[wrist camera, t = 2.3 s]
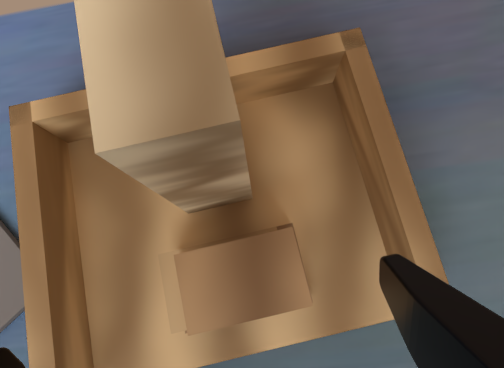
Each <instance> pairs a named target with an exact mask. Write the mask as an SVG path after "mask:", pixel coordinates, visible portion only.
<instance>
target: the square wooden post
mask: <svg viewBox="0 0 504 368" xmlns="http://www.w3.org/2000/svg"><path fill="white" fill-rule="evenodd" d="M74 4H75V11H76V18H77V26H78V33H79V41H80V48H81V55H82V63H83V70H84V77H85V85H86V92H87V100H88V107H89V114H90V122H91V129H92V136H93V144H94V151H95V154H97V155H98V156H100V157H101V158H103V159H104V160H106V161H107V162H109V163H111V164H112V165H114V166H115V167H117V168H118V169H120V170H121V171H123V172H125V173H126V174H128V175H129V176H131V177H132V178H134V179H135V180H137V181H139V182H140V183H142V184H143V185H145V186H146V187H148V188H149V189H151V190H153V191H154V192H156V193H157V194H159V195H160V196H162V197H164V198H165V199H167V200H168V201H170V202H171V203H173V204H174V205H176V206H178V207H179V208H181V209H182V210H184V211H185V212H187V213H188V214H189V213H194V212H198V211H202V210H206V209H211V208H215V207H219V206H224V205H228V204H232V203H236V202H241V201H245V200H249V199H253V197H252V190H251V184H250V178H249V172H248V165H247V159H246V153H245V147H244V140H243V134H242V128H241V122H240V117H239V113H238V109H237V105H236V100H235V96H234V92H233V88H232V84H231V80H230V75H229V71H228V67H227V63H226V59H225V55H224V51H223V46H222V42H221V38H220V34H219V30H218V26H217V21H216V17H215V13H214V9H213V5H212V1H211V0H74Z"/></svg>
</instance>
